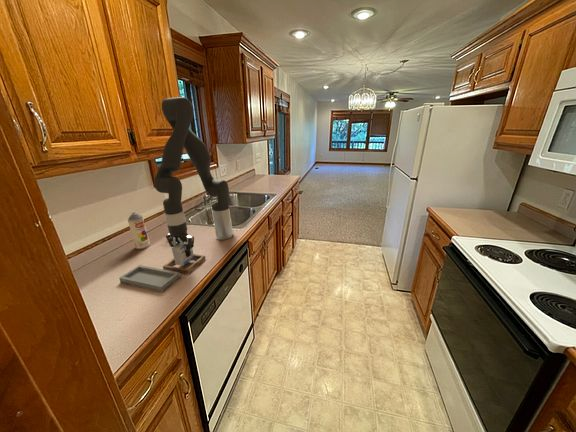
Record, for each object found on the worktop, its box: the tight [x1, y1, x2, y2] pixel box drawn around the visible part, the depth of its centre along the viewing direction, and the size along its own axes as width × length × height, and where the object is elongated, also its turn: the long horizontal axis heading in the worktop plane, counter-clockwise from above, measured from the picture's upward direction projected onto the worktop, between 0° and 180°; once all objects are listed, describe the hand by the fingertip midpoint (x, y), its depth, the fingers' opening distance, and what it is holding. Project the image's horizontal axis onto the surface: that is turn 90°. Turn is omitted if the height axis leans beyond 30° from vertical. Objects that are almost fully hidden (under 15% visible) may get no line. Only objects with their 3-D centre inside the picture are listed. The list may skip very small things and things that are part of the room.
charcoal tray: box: [118, 264, 181, 293], centre depth 101 cm, size 10×22×2 cm, turn 72°
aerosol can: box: [127, 210, 151, 250], centre depth 127 cm, size 7×7×20 cm
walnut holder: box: [162, 253, 206, 275], centre depth 112 cm, size 13×13×2 cm
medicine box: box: [171, 242, 195, 267], centre depth 110 cm, size 8×4×9 cm, turn 164°
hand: (183, 255), depth 111 cm, fingers closed on medicine box, 4 cm apart
